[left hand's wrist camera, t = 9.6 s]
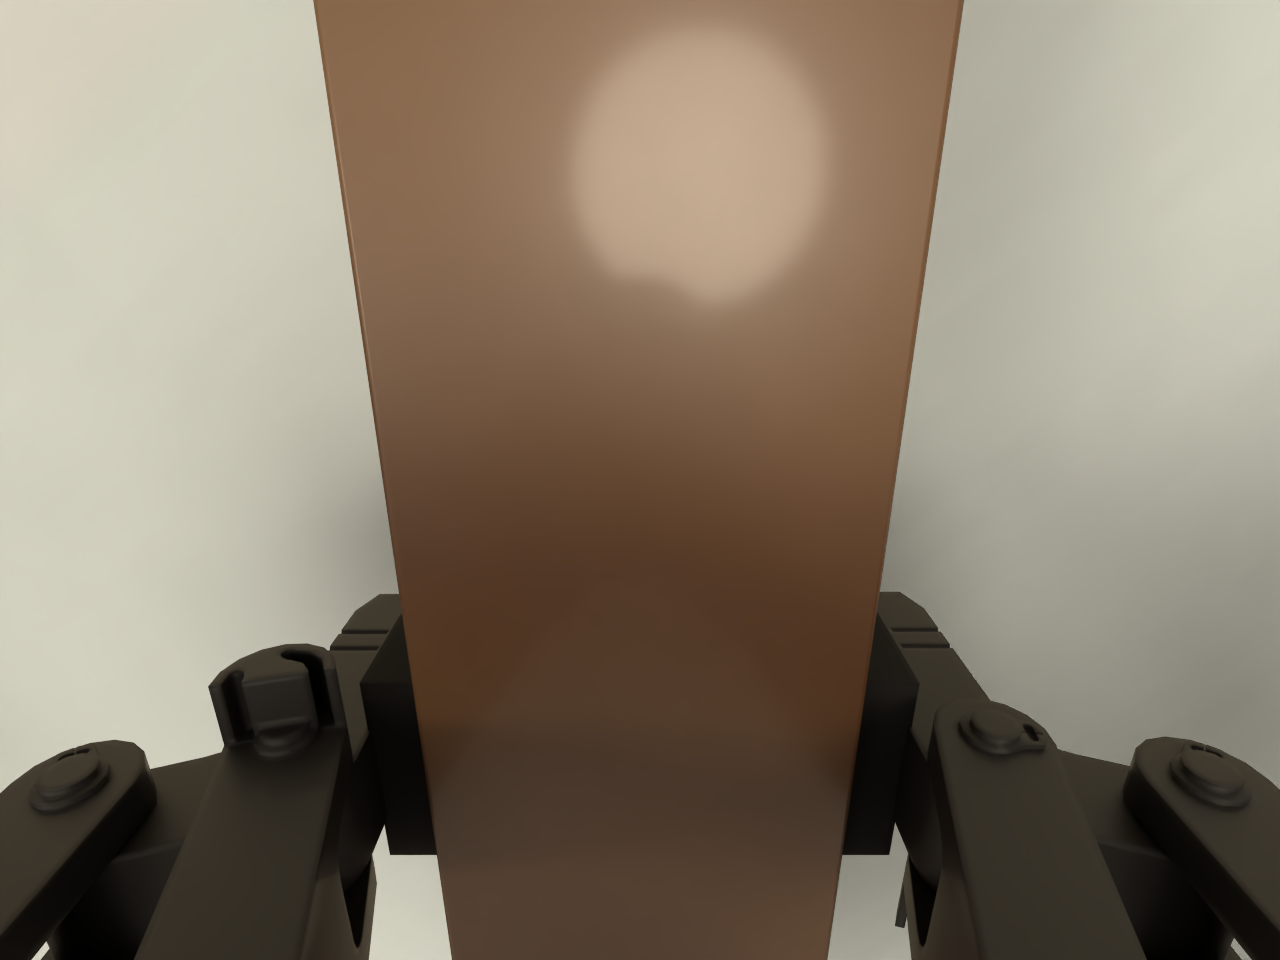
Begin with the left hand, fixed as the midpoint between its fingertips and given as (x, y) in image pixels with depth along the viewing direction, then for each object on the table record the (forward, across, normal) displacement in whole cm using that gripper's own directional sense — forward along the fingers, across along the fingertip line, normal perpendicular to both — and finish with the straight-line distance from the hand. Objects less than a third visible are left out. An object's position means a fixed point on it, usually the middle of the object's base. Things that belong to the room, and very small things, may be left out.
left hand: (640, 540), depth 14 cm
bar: (+1, 0, -28) cm, 28 cm away
